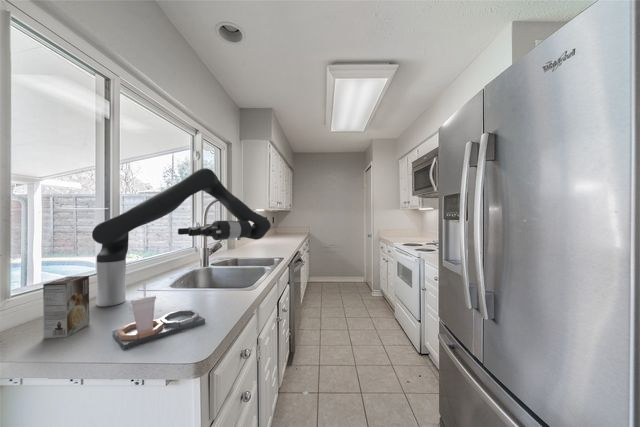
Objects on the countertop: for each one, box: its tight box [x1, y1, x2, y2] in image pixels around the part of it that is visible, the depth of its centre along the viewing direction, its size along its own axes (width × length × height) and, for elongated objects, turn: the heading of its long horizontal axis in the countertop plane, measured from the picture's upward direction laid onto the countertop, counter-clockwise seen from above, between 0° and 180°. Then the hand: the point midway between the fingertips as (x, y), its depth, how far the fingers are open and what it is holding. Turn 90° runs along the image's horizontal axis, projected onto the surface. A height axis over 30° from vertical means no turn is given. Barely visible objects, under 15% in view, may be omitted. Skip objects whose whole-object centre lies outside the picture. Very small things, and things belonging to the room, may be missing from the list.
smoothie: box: [129, 282, 157, 333], centre depth 77 cm, size 6×6×14 cm
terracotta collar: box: [117, 318, 163, 340], centre depth 77 cm, size 10×10×1 cm
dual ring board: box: [112, 314, 206, 351], centre depth 81 cm, size 12×22×2 cm, turn 140°
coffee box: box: [42, 275, 90, 339], centre depth 80 cm, size 9×6×16 cm
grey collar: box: [160, 309, 200, 326], centre depth 85 cm, size 10×10×1 cm
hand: (183, 232), depth 90 cm, fingers open, 8 cm apart
